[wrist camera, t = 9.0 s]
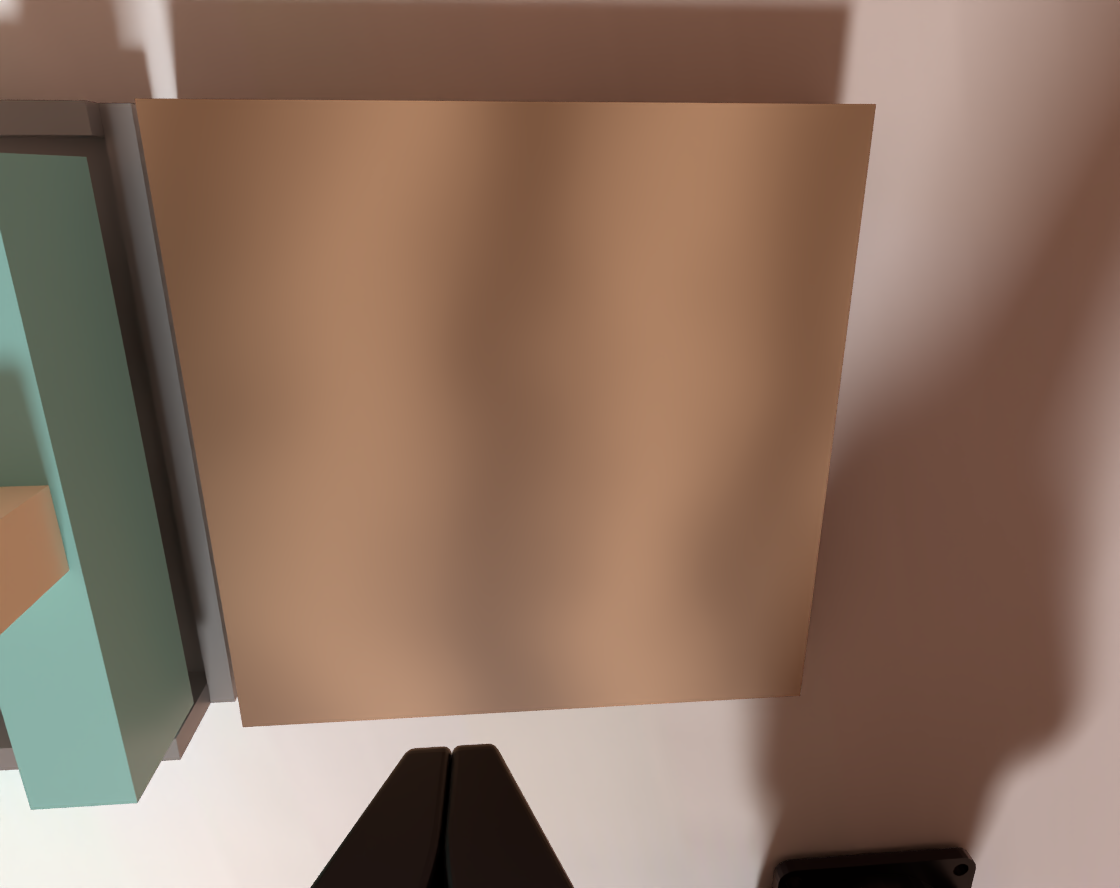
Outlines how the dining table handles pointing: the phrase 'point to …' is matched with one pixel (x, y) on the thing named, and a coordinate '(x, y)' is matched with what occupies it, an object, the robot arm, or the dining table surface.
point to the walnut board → (509, 392)
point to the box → (142, 372)
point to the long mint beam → (76, 512)
